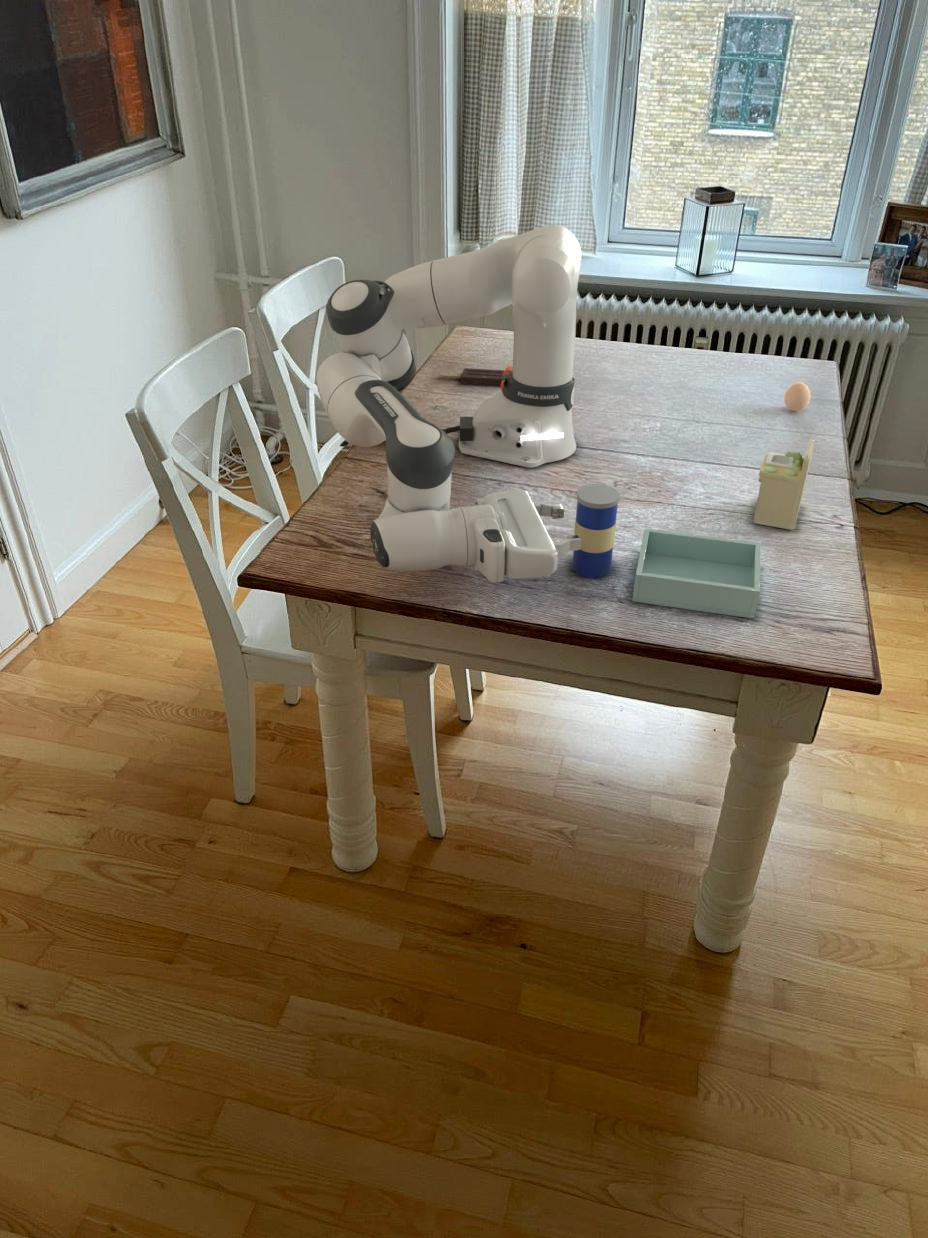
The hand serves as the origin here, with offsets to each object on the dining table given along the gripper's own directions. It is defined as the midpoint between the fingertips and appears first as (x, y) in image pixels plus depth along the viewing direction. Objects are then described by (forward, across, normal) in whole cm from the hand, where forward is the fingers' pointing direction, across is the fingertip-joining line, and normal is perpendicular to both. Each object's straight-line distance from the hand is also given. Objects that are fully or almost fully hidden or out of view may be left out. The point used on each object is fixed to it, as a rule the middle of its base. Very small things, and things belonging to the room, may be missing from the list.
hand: (571, 526), depth 145 cm
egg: (+62, -50, -8) cm, 80 cm away
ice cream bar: (0, -78, -8) cm, 78 cm away
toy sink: (+39, -10, -8) cm, 41 cm away
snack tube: (+4, 0, -8) cm, 9 cm away
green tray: (+18, +8, -8) cm, 21 cm away
